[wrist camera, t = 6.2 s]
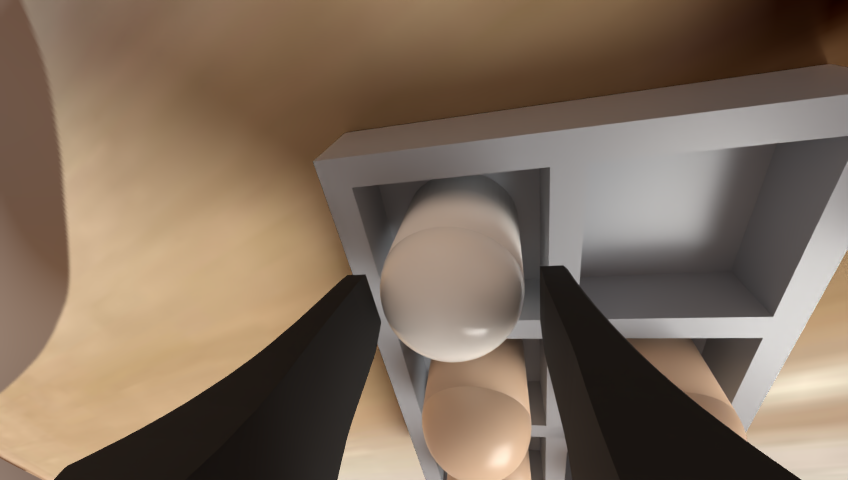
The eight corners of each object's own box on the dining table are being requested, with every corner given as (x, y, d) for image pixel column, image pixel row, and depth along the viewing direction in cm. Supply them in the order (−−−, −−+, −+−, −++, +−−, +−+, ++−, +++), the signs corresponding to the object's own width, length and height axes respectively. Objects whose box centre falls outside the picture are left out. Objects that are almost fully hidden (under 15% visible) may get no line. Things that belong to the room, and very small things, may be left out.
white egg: (515, 164, 13) (528, 274, 7) (520, 263, 15) (532, 398, 10) (398, 176, 14) (338, 279, 8) (418, 267, 16) (381, 390, 11)
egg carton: (829, 63, 10) (1254, 136, 4) (675, 457, 22) (741, 615, 16) (344, 132, 13) (242, 224, 8) (435, 442, 25) (420, 569, 19)
